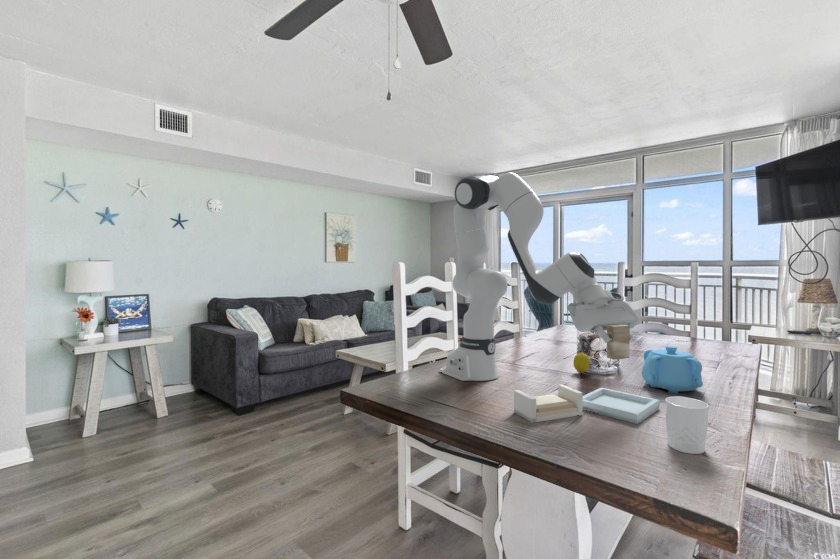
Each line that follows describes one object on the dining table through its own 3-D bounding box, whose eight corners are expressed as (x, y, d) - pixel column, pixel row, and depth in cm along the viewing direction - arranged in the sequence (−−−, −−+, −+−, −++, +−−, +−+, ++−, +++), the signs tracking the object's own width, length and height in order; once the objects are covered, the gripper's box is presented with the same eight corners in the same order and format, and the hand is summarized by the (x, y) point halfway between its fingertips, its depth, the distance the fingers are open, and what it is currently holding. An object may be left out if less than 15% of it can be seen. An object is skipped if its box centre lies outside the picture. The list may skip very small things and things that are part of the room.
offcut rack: (514, 412, 109) (514, 390, 109) (562, 405, 114) (562, 384, 114) (531, 422, 102) (531, 399, 101) (582, 414, 107) (582, 392, 107)
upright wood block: (606, 357, 111) (606, 325, 111) (622, 356, 113) (622, 324, 113) (613, 359, 109) (613, 326, 109) (629, 358, 111) (629, 325, 111)
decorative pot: (699, 385, 133) (699, 344, 133) (704, 399, 119) (704, 353, 119) (642, 379, 141) (643, 340, 141) (641, 391, 127) (642, 348, 127)
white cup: (663, 449, 86) (664, 404, 86) (665, 436, 93) (666, 394, 93) (708, 459, 82) (709, 411, 82) (707, 445, 89) (708, 400, 88)
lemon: (591, 376, 145) (591, 354, 145) (574, 375, 146) (574, 353, 146) (587, 372, 150) (587, 350, 150) (572, 371, 151) (572, 350, 151)
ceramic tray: (576, 407, 112) (576, 399, 112) (601, 395, 123) (601, 387, 123) (637, 424, 100) (637, 414, 100) (659, 408, 111) (659, 399, 111)
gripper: (570, 296, 114) (595, 336, 105) (626, 294, 120) (654, 331, 111) (559, 310, 118) (583, 349, 109) (614, 307, 125) (640, 344, 116)
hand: (619, 340), depth 110 cm, fingers closed on upright wood block, 5 cm apart
